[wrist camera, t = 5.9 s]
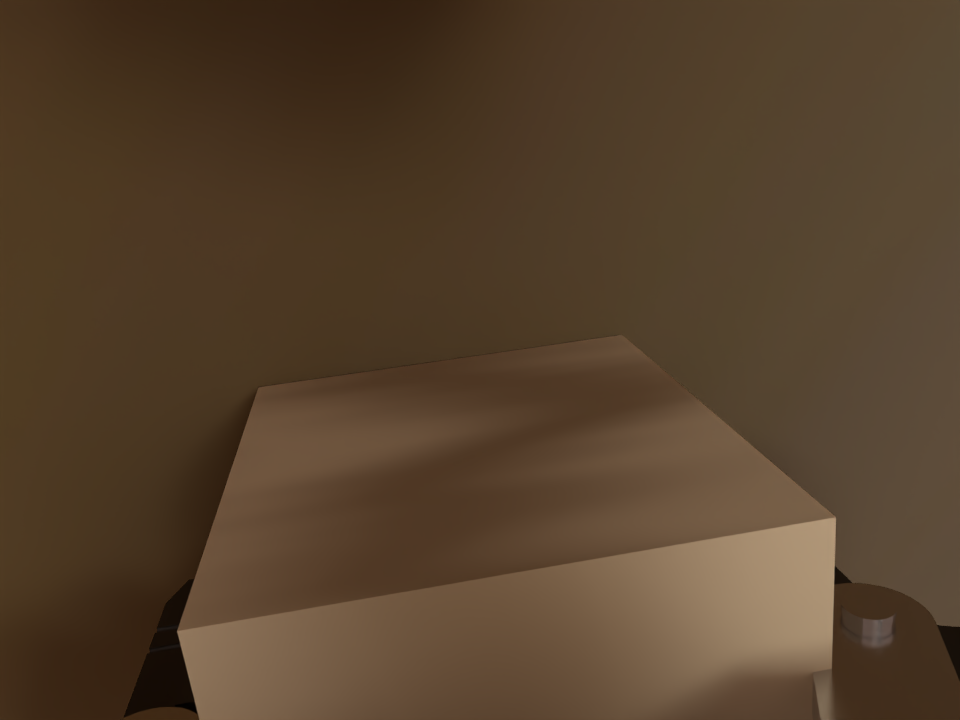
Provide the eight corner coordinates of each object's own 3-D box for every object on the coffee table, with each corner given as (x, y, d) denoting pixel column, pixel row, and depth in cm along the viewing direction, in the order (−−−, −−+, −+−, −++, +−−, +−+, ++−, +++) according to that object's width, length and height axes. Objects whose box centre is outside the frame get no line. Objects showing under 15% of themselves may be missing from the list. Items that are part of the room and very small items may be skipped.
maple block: (621, 334, 13) (836, 516, 7) (638, 638, 15) (822, 982, 9) (258, 387, 12) (177, 631, 7) (319, 697, 14) (296, 1106, 8)
